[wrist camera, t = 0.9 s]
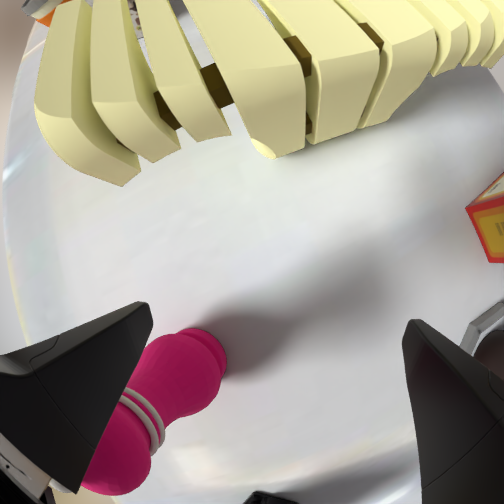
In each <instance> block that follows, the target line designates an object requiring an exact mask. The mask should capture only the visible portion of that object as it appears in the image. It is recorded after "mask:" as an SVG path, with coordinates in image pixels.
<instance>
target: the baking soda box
mask: <svg viewBox="0 0 504 504" xmlns="http://www.w3.org/2000/svg"><path fill="white" fill-rule="evenodd" d="M465 209H466V211H467V213H468V215H469V217H470V219H471V221H472V223H473V225H474V227H475V230H476V232H477V234H478V236H479V239H480V241H481V243H482V246H483V248H484V251H485V253H486V256H487V258H488V261H489V263H504V172H503V173H502V174H501V175H500V176H499V177H498V178H497V179H496V180H495V181H494V182H493V183H492V184H491V185H490V186H489V187H488V188H487V189H486V190H485V191H483V192H482V193H481V194H480V195H479V196H478V197H477V198H476V199H475V200H474V201H472V202H471V203H470V204H469V205H468V206H467V207H466V208H465Z"/></svg>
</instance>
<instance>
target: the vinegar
mask: <svg viewBox="0 0 504 504" xmlns="http://www.w3.org/2000/svg"><path fill="white" fill-rule="evenodd" d="M474 358H475V359H476V360H478V361H479V362H480V363H482V364H483V365H484V366H486V367H487V368H488V370H491V371H492V372H493V373H495V374H496V375H497V376H499V377H500V378H501V379H503V380H504V331H502V330H496V331H494V332H492V333H490V334H489V335H488V336H486V337H485V338H484V339H483V341H482V342H481V343H480V345H479V346H478V348H477V350H476V352H475V354H474Z"/></svg>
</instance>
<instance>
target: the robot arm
mask: <svg viewBox="0 0 504 504" xmlns="http://www.w3.org/2000/svg"><path fill="white" fill-rule="evenodd" d="M152 328H153V319H152V315H151V311H150V307H149V305H148V303H146V302H140V301H137V302H134V303H132V304H130V305H127V306H125V307H123V308H120V309H118V310H116V311H113V312H111V313H109V314H106V315H104V316H101V317H99V318H97V319H94V320H92V321H90V322H87V323H85V324H83V325H80V326H78V327H76V328H73V329H71V330H68V331H66V332H64V333H61V334H60V335H57V336H54V337H52V338H49V339H47V340H44V341H42V342H39V343H37V344H34V345H31V346H28V347H25V348H22V349H19V350H17V351H14V352H10V353H8V354H4V355H0V504H56V503H55V500H54V496H53V493H52V489H51V488H50V487H49V486H48V485H49V483H50V481H51V480H52V478H53V479H54V480H55V481H57V482H58V483H60V484H61V485H62V486H64V487H65V488H67V489H68V490H70V491H71V492H73V493H75V494H77V492H78V490H79V488H80V485H81V483H82V481H83V478H84V476H85V473H86V471H87V469H88V466H89V464H90V462H91V460H92V457H93V455H94V453H95V450H96V448H97V446H98V444H99V442H100V439H101V437H102V435H103V433H104V431H105V429H106V426H107V424H108V422H109V420H110V418H111V416H112V414H113V412H114V410H115V408H116V406H117V404H118V402H119V400H120V398H121V396H122V394H123V392H124V390H125V388H126V386H127V384H128V382H129V380H130V378H131V376H132V374H133V372H134V370H135V368H136V366H137V364H138V362H139V360H140V358H141V355H142V353H143V350H144V348H145V345H146V343H147V340H148V338H149V335H150V333H151V330H152ZM402 349H403V356H404V364H405V373H406V381H407V387H408V392H409V397H410V402H411V407H412V412H413V418H414V424H415V431H416V437H417V445H418V453H419V462H420V473H421V488H422V504H504V380H503V379H501V378H500V377H499V376H497V375H496V374H495V373H493V372H492V371H491V370H488V368H487V367H486V366H484V365H483V364H482V363H480V362H479V361H478V360H476V359H475V358H474V357H472V356H471V355H470V354H468V353H467V352H466V351H464V350H463V349H462V348H460V347H459V346H458V345H456V344H455V343H453V342H452V341H451V340H449V339H448V338H447V337H445V336H444V335H442V334H441V333H440V332H438V331H437V330H435V329H434V328H433V327H431V326H430V325H428V324H427V323H426V322H424V321H423V320H421V319H411V320H409V322H408V324H407V327H406V330H405V333H404V336H403V339H402ZM243 504H298V503H295V502H291V501H287V500H283V499H279V498H275V497H271V496H268V495H264V494H261V493H258V492H253V493H252V494H251V495H250V496H249V497H248V499H247V500H246V501H245V502H244V503H243Z"/></svg>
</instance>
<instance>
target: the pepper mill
mask: <svg viewBox="0 0 504 504" xmlns="http://www.w3.org/2000/svg"><path fill="white" fill-rule="evenodd" d="M226 366H227V359H226V354H225V351H224V349H223V347H222V345H221V344H220V343H219V341H218V340H217V339H216V338H215V337H214V336H212V335H211V334H209V333H207V332H205V331H203V330H200V329H195V328H189V329H184V330H181V331H179V332H178V333H176V334H168V335H163V336H161V337H158V338H157V339H155V340H154V341H152V342H151V343H150V344H149V345H148V346H147V347H146V348H145V349H144V350H143V353H142V355H141V358H140V360H139V362H138V364H137V366H136V368H135V370H134V372H133V374H132V376H131V378H130V380H129V382H128V384H127V386H126V388H125V390H124V392H123V394H122V396H121V398H120V400H119V402H118V404H117V406H116V408H115V410H114V412H113V414H112V416H111V418H110V420H109V422H108V424H107V426H106V429H105V431H104V433H103V435H102V437H101V439H100V442H99V444H98V446H97V448H96V450H95V453H94V455H93V457H92V460H91V462H90V464H89V466H88V469H87V471H86V473H85V476H84V478H83V481H82V483H81V486H83V487H85V488H86V489H88V490H91V491H93V492H96V493H99V494H103V495H110V496H117V495H123V494H127V493H129V492H131V491H133V490H134V489H136V488H137V487H139V486H140V485H141V484H142V483H143V482H144V480H145V479H146V477H147V476H148V474H149V471H150V468H151V456H152V455H154V454H155V453H156V451H157V449H158V448H159V447H160V446H161V445H162V444H163V442H164V440H165V429H166V427H167V426H168V425H169V424H170V423H172V422H173V421H174V420H176V419H178V418H180V417H186V416H189V415H193V414H195V413H197V412H199V411H201V410H203V409H204V408H206V407H207V406H208V405H209V404H210V403H211V402H212V401H213V399H214V398H215V397H216V395H217V394H218V391H219V388H220V383H221V378H222V376H223V374H224V372H225V370H226ZM49 484H50V485H51V486H52V487H53V488H55V489H56V490H58V491H60V492H63V493H70V492H71V491H70V490H68V489H67V488H65V487H64V486H62V485H61V484H60V483H58V482H57V481H55V480H54V479H53V478H52V480H51V481H50V483H49Z"/></svg>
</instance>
